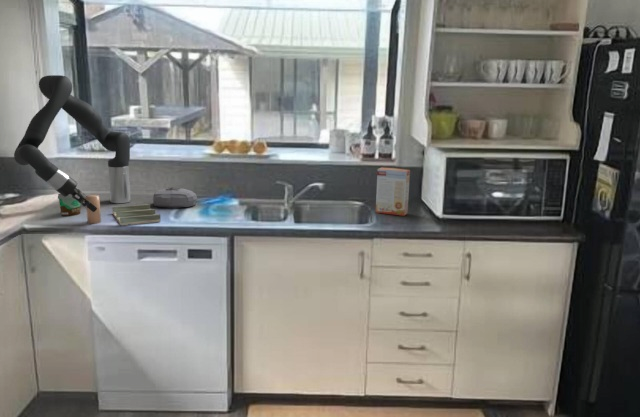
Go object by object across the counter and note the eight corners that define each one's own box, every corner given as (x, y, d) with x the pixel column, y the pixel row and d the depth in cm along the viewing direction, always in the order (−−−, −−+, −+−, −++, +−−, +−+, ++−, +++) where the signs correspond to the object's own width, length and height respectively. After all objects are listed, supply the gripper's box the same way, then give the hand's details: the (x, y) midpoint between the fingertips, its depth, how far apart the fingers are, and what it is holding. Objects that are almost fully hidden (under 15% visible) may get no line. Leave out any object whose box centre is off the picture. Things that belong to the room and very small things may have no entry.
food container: (72, 218, 241) (70, 194, 239) (59, 216, 242) (57, 193, 240) (89, 211, 253) (87, 189, 250) (76, 210, 254) (75, 188, 252)
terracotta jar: (86, 221, 237) (85, 195, 234) (100, 219, 239) (98, 194, 237) (88, 224, 232) (86, 197, 230) (101, 222, 235) (100, 196, 232)
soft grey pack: (150, 208, 262) (194, 209, 262) (149, 190, 260) (193, 191, 260) (159, 201, 277) (200, 202, 277) (158, 184, 275) (200, 185, 275)
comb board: (112, 213, 250) (112, 207, 249) (149, 210, 257) (149, 204, 256) (120, 225, 232) (120, 218, 231) (160, 221, 239) (160, 214, 238)
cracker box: (407, 213, 264) (410, 169, 259) (404, 216, 259) (407, 171, 254) (379, 210, 270) (381, 166, 265) (375, 212, 265) (377, 168, 260)
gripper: (70, 178, 221) (103, 204, 229) (66, 172, 233) (98, 197, 241) (56, 193, 220) (89, 218, 228) (53, 186, 232) (85, 211, 240)
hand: (94, 208), depth 235 cm, fingers open, 8 cm apart
